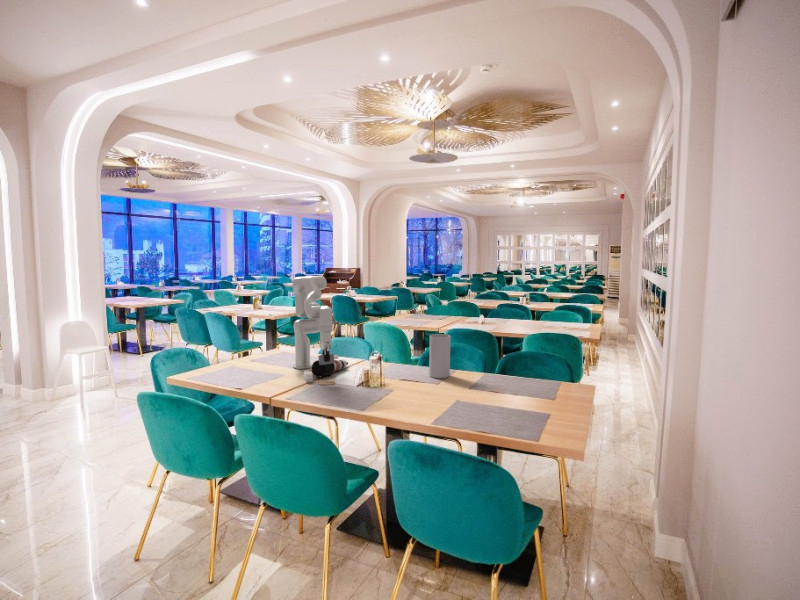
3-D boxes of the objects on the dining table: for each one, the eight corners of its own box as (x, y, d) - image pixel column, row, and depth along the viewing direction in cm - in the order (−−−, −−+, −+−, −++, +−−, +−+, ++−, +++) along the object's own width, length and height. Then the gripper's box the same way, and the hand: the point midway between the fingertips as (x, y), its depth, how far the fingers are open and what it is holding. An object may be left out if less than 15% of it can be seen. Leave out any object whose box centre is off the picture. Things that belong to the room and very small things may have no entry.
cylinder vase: (425, 376, 278) (425, 335, 276) (437, 372, 287) (437, 333, 285) (441, 379, 270) (442, 338, 268) (453, 375, 279) (454, 335, 277)
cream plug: (303, 379, 270) (303, 370, 270) (310, 378, 272) (309, 370, 271) (306, 383, 260) (306, 375, 260) (313, 383, 261) (313, 374, 261)
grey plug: (320, 365, 258) (318, 357, 257) (318, 364, 262) (317, 355, 261) (339, 361, 262) (337, 353, 261) (337, 360, 265) (336, 351, 265)
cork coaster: (316, 381, 265) (316, 380, 265) (332, 379, 268) (332, 378, 268) (319, 385, 255) (319, 384, 255) (336, 384, 259) (336, 383, 259)
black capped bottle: (349, 373, 301) (356, 361, 300) (321, 380, 270) (328, 366, 269) (338, 365, 305) (344, 352, 303) (308, 371, 274) (316, 357, 272)
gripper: (316, 327, 266) (316, 358, 267) (322, 331, 250) (322, 364, 252) (329, 326, 268) (329, 357, 270) (335, 330, 253) (336, 363, 255)
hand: (326, 360), depth 261 cm, fingers closed on grey plug, 4 cm apart
